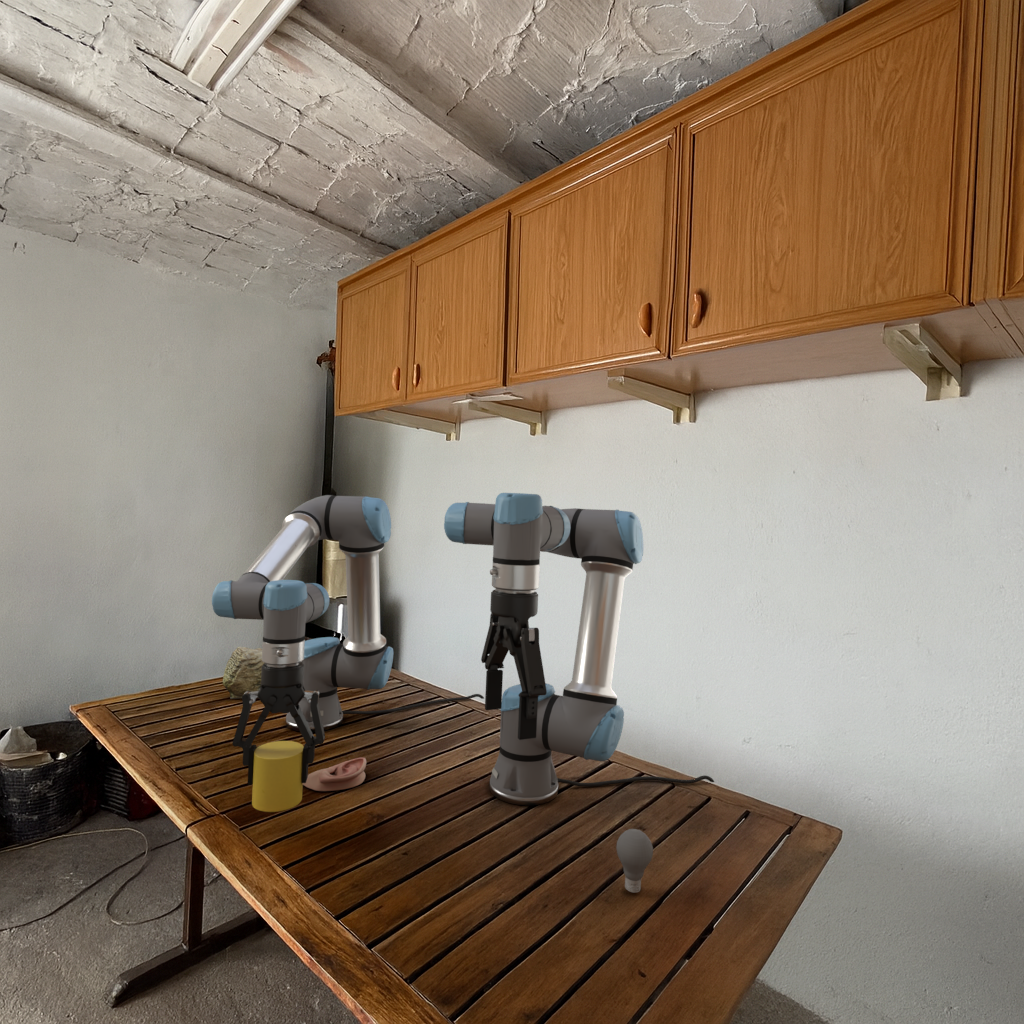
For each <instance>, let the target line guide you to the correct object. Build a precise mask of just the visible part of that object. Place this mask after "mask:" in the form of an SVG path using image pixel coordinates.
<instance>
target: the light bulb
mask: <svg viewBox="0 0 1024 1024" xmlns="http://www.w3.org/2000/svg"><path fill="white" fill-rule="evenodd" d="M615 849H616V854H617V857H618V859H619V861H620V863H621V865H622V867H623V873H624V874H623V875H624V876H625V878H624V888H625V890H627V891H628V892H630V893H634V894H635V893H639V892H640V891H641V889H642V887H641V886H642V879H643V877H644V875H645V871H646V868H647V867H648V866H649V864H650V863H651V861H652V859H653V855H654V847H653V843H652V841H651V838H649V836H648V835H647V834H646V833H645V832H643V831H642V830H641V829H636V828H629V829H627V830H625V831H623V832H622V833H621V834H620V835H619V837H618V839H617V841H616V847H615Z"/></svg>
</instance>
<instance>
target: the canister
mask: <svg viewBox="0 0 1024 1024" xmlns="http://www.w3.org/2000/svg"><path fill="white" fill-rule="evenodd" d="M303 748H304V745H303V744H302V743H300V742H297V741H294V740H293V741H292V740H276V741H271V742H270V741H269V742H267V743H264V744H261V745H259V746H256V749H255V751H254V763H253V784H252V788H251V789H252V791H251V806H252V808H254V809H255V810H256V811H259V812H265V813H275V812H276V813H277V812H283V811H287V810H290V809H293V808H295V807H297V806H298V805H299V804H300V803H301V802H302V800H303V789H304V788H303V787H304V785H303V783H302V763H303Z"/></svg>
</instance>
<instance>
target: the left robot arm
mask: <svg viewBox="0 0 1024 1024" xmlns="http://www.w3.org/2000/svg"><path fill="white" fill-rule="evenodd" d="M391 536H392V518H391V513H390V509H389V506H388V504H387V503H386V501H385V500H384V499H382V498H380V497H370V496H367V495H366V496H363V495H361V496H358V495H357V496H356V495H334V494H325V495H320V496H316V497H313V498H312V499H309V500H307V501H305V502H303V503H302V504H300V505H298V506H296V507H295V508H294V509H293V510H292V511H290V512H289V513H288V514H287V515H286V517H285V518H284V519H283V520H282V523H281V528H280V530H279V531H278V533H277V534H276V535H275V536H274V537H273V538H272V539H271V541H269V543H268V544H267V545H266V546H265V547H264V549H262V551H261V552H260V553H259V555H258V556H257V557H256V558H255V559H254V560H253V562H252V563H251V564H250V565H249V566H248V568H246V570H245V571H244V572H243V573H242V574H241V575H240V577H239V578H238V579H237V580H231V579H230V580H222V581H221V582H218V583H217V585H216V586H215V587H214V589H213V591H212V596H211V605H212V610H213V612H214V614H215V615H216V616H217V617H220V618H227V619H234V620H239V619H240V620H259V621H260V620H261V621H263V625H262V627H263V629H262V647H261V649H262V661H263V662H264V664H263V665H262V670H261V687H260V690H259V691H254V692H251V691H249V690H248V691H246V692H245V693H244V695H243V696H242V698H241V699H242V700H241V702H242V709H241V712H240V716H239V719H238V723H237V726H236V730H235V733H234V737H233V739H232V746H233V747H240V748H241V749H242V766H244V767H248V768H247V786H253V763H254V751H255V749H256V748H257V744H253V742H254V740H255V738H256V737H257V735H258V733H259V731H261V730H260V729H261V728H262V726H263V724H264V723H265V721H266V719H267V718H268V716H269V714H270V713H271V714H278V713H283V714H286V715H285V726H286V728H287V729H289V730H291V731H294V732H295V731H296V732H299V733H300V734H301V736H302V739H303V741H304V745H303V746H304V748H303V763H302V783H306V781H307V778H308V775H309V765H312V764H313V763H314V760H315V754H316V752H315V750H316V746H317V745H323V744H324V741H325V738H326V734H325V731H329V730H332V729H335V728H337V727H339V726H340V725H342V723H343V722H344V715H377V714H387V713H394V712H401V711H405V710H409V709H413V708H418V707H423V706H427V705H433V704H439V703H446V702H454V701H465V700H470V699H473V698H480V699H482V700H485V696H483V695H482V694H481V693H473V694H471V695H468V696H460V697H450V698H449V697H448V698H442V699H433V700H430V701H424V702H420V703H414V704H411V705H406V706H402V707H396V708H388V709H381V710H380V709H379V710H343V709H342V706H341V702H340V699H339V695H338V688H344V689H360V690H361V689H363V690H367V691H370V690H382V689H383V688H384V687H385V686H386V685H387V684H388V681H389V678H390V675H391V671H392V667H393V661H394V648H393V647H392V646H390V645H388V646H387V637H385V636H384V635H383V634H381V601H380V599H381V597H380V596H381V595H380V593H381V591H380V557H379V556H380V552H381V551H382V550H383V549H384V548H385V544H386V543H388V542H389V541H390V539H391ZM323 540H329V541H338V546H339V547H338V549H339V550H340V551H341V552H342V553H343V554H344V555H345V579H346V601H347V602H346V605H347V606H346V607H347V608H346V609H347V611H346V612H347V629H348V630H347V631H348V632H347V634H348V636H347V637H346V638H345V639H344V640H343V642H342V643H341V641H340V639H339V638H338V637H334V636H325V637H316V638H312V639H307V640H305V639H306V624H308V623H311V622H312V621H315V620H317V619H319V618H320V617H321V616H322V615H324V614H325V613H326V611H328V609H329V605H330V595H329V593H328V591H327V589H326V588H325V587H324V586H323V585H321V584H319V583H316V582H305V581H303V580H297V579H285V578H286V576H287V575H288V574H289V573H290V571H291V570H292V569H293V567H294V566H295V565H296V564H297V562H298V561H299V559H300V558H301V556H302V555H303V554H304V553H305V551H306V550H307V549H308V548H310V547H312V546H314V545H315V544H316V543H317V542H318V541H323ZM257 698H258V699H259V701H260V702H261V704H262V705H263V706H264V707H263V709H262V711H261V712H260V715H259V716H258V718H257V720H256V722H255V724H254V725H253V727H252V729H251V730H250V732H249V734H248V736H247V738H245V737H244V735H245V732H246V728H247V725H248V721H249V717H250V714H251V710H252V706H253V704H255V702H256V700H257ZM313 733H315V736H314V734H313Z"/></svg>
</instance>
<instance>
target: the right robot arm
mask: <svg viewBox="0 0 1024 1024" xmlns="http://www.w3.org/2000/svg"><path fill="white" fill-rule="evenodd" d="M443 529H444V533H445V535H446V537H447V539H448V540H449V541H451V542H452V543H458V544H462V545H479V546H492V547H493V549H492V551H493V552H492V569H490V570H489V574H490V576H491V587H493V588H494V589H493V590H492V591H491V592H490V610H489V611H490V616H489V626H488V630H487V634H486V638H485V641H484V646H483V649H482V654H481V657H480V658H481V659H480V660H481V663H482V664H484V668H485V670H486V672H485V673H486V675H485V696H484V710H485V711H494V710H495V711H496V710H499V711H500V725H499V731H500V732H499V751H498V752H499V753H498V756H497V759H496V761H495V764H494V766H493V767H492V770H491V775H490V779H489V791H490V793H491V795H493V796H494V797H495V798H496V799H498V800H499V801H502V802H505V803H509V804H512V805H519V806H538V805H542V804H543V805H544V804H546V803H549V802H551V801H553V800H554V799H555V798H557V796H558V795H559V794H558V793H559V783H561V784H567V785H571V786H574V787H582V788H583V787H584V788H591V787H592V788H593V787H602V786H608V785H616V784H624V783H632V782H639V781H658V782H668V783H675V784H686V785H687V784H689V785H690V784H695V783H698V782H701V781H704V780H707V781H709V782H710V783H715V780H714V779H713V778H712V777H711V776H709V775H700V776H698V777H694V778H691V779H680V778H679V779H678V778H671V777H664V776H651V775H647V776H645V775H644V776H634V777H633V776H632V777H628V778H620V779H619V778H618V779H612V780H604V781H596V782H578V781H573V780H570V779H565V778H560V777H557V772H556V769H555V765H554V762H553V757H552V752H556V753H560V754H565V755H569V756H573V757H577V758H583V759H584V760H585V761H589V760H592V761H597V762H606V761H607V760H609V759H611V757H612V756H613V754H614V753H615V751H616V749H617V747H618V745H619V742H620V739H621V736H622V733H623V727H624V724H625V723H624V722H625V718H624V716H625V712H624V709H623V707H621V706H620V705H619V704H618V695H617V694H616V693H615V691H614V690H613V688H612V685H613V684H612V683H613V676H614V669H615V668H614V667H615V660H616V651H617V645H618V644H617V643H618V635H619V629H620V628H619V627H620V620H621V619H620V618H621V612H622V604H623V603H622V602H623V595H624V588H625V580H626V578H627V577H628V576H629V575H630V574H633V570H634V565H637V564H640V563H641V562H642V560H643V556H644V534H643V527H642V523H641V521H640V518H639V517H638V515H637V514H636V513H634V512H633V511H626V510H619V509H591V508H576V507H575V508H573V507H572V508H559V507H555V506H553V505H543V499H542V496H541V495H539V494H537V493H524V492H523V493H521V492H501V493H499V494H497V496H496V497H495V503H480V502H470V501H465V502H455V503H452V504H450V505H449V506H448V508H447V509H446V512H445V515H444V523H443ZM541 552H543V553H549V554H554V555H558V556H561V557H566V558H571V559H572V558H573V559H580V560H581V561H580V567H581V568H582V569H583V570H584V572H585V573H586V574H585V580H584V581H585V582H584V591H583V597H582V602H581V603H582V604H581V611H580V618H579V624H578V625H579V626H578V633H577V640H576V646H575V647H576V648H575V655H574V663H573V668H572V678H571V681H570V682H569V683H568V684H566V685H565V686H564V687H563V691H562V695H560V694H559V695H558V694H555V693H556V689H555V687H554V685H552V684H550V683H546V678H545V672H544V666H543V665H544V664H543V660H542V653H541V646H540V630H539V628H538V627H530V623H529V619H530V618H533V617H535V616H537V614H538V608H539V594H538V592H537V591H536V590H538V589H539V588H540V573H541V571H540V570H541V568H540V567H541V562H540V559H541ZM508 653H509V654H510V656H512V657H513V659H514V663H515V668H516V672H517V676H518V680H519V683H518V684H514V685H512V686H509V687H508V688H506V689H505V690H504V691H503V681H504V680H503V677H504V675H503V674H504V670H503V669H505V667H504V661H505V659H506V658H507V657H506V656H507V655H508ZM694 779H695V780H694Z"/></svg>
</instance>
